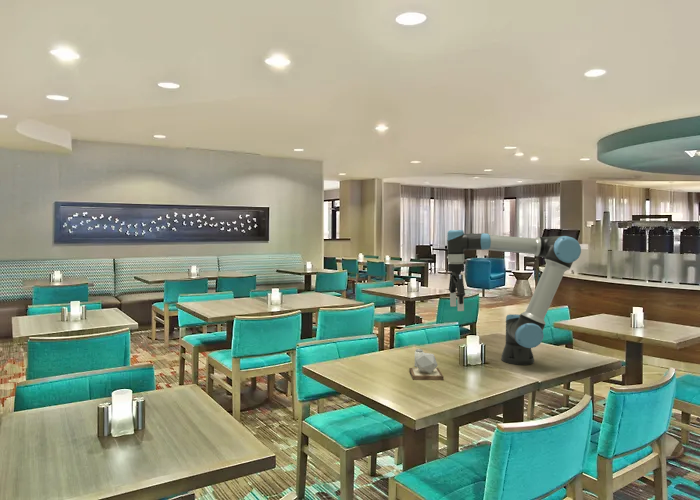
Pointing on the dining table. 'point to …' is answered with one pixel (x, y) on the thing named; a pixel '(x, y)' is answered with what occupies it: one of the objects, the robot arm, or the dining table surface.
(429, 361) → the die
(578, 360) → the dining table surface
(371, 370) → the dining table surface
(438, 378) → the board
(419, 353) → the shaker
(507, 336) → the robot arm
